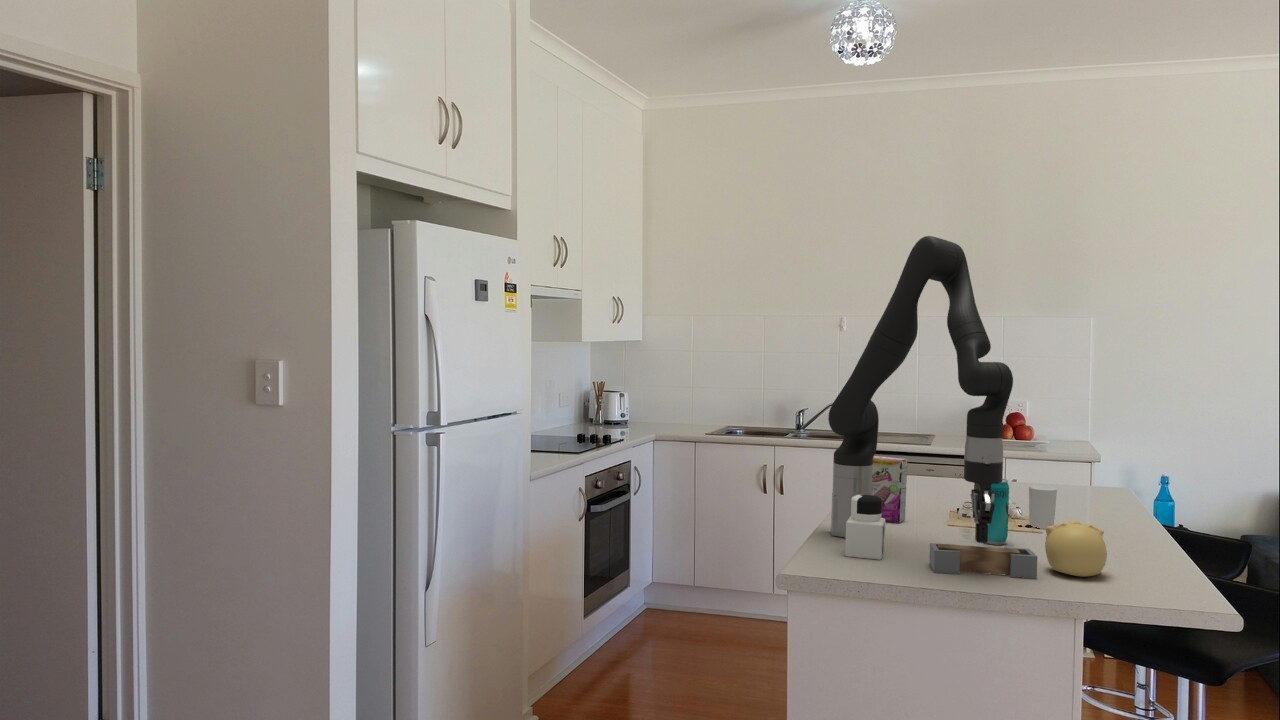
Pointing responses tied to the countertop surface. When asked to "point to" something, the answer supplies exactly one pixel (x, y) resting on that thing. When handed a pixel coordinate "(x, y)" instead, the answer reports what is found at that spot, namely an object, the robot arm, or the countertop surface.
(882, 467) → the candy bar box
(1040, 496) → the drinking glass
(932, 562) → the endcap
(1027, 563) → the endcap
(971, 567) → the brown wooden bar
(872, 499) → the container
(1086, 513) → the countertop surface
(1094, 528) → the sculpture
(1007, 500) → the beverage can
